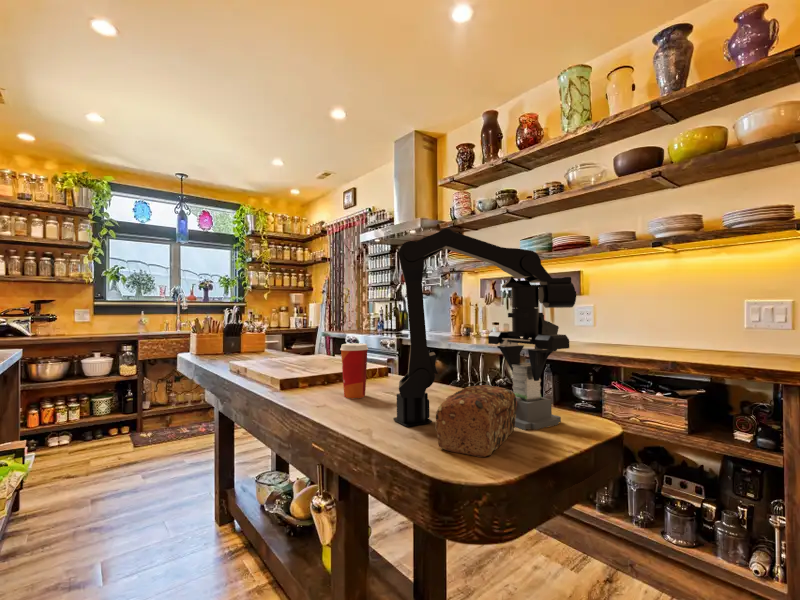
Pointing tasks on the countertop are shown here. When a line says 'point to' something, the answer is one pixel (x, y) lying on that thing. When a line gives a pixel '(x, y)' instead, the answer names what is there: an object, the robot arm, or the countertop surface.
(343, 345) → the coffee cup
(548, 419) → the stand base
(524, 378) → the column
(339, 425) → the countertop surface
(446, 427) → the bread
